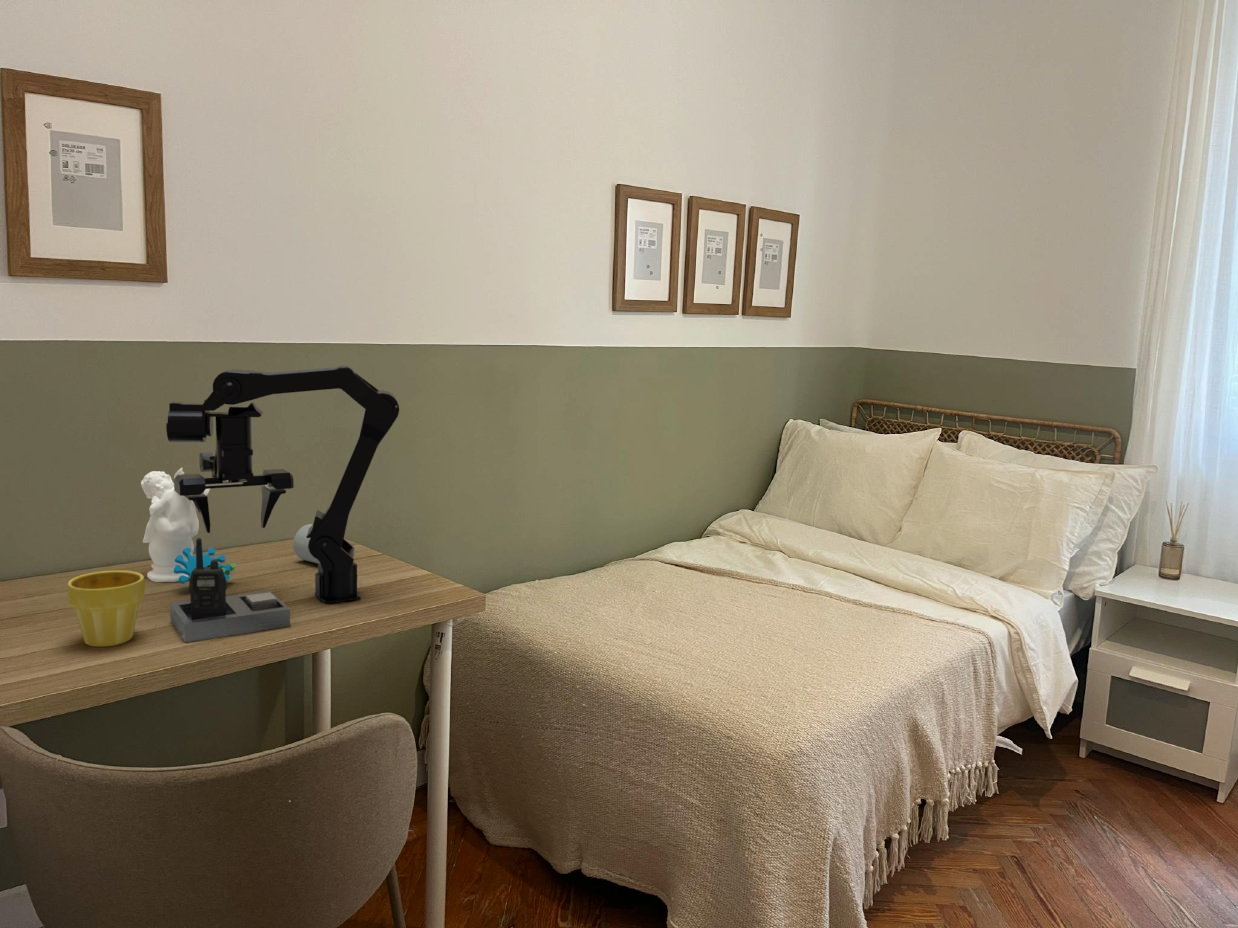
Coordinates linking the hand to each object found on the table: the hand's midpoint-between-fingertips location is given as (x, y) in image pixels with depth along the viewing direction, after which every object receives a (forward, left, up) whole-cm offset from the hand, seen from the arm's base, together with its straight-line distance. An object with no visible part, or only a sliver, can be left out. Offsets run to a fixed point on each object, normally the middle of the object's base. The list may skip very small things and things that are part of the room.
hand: (236, 529), depth 164 cm
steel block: (-1, +12, -13) cm, 18 cm away
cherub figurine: (+5, -22, -13) cm, 26 cm away
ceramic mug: (-22, -20, -13) cm, 33 cm away
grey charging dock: (+4, +12, -13) cm, 18 cm away
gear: (+3, -11, -13) cm, 18 cm away
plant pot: (+22, +11, -13) cm, 28 cm away
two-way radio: (+7, +11, -13) cm, 19 cm away
